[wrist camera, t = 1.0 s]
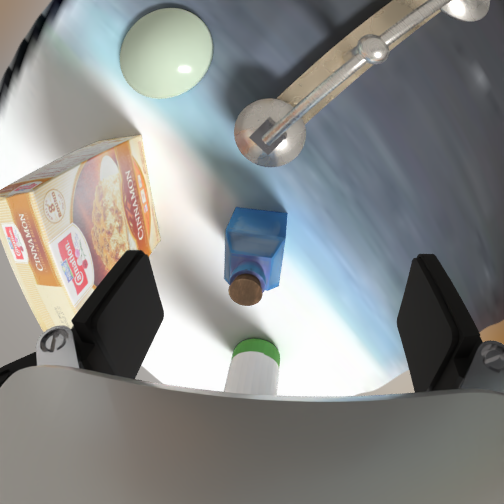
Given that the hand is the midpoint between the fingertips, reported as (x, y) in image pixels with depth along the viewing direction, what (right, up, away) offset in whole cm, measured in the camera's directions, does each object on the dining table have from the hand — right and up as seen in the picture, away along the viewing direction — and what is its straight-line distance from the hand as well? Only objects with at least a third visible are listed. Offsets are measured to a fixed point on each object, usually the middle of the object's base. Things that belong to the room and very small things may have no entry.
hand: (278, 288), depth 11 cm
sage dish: (-11, +23, +18) cm, 31 cm away
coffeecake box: (-17, +9, +28) cm, 34 cm away
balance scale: (+9, +21, +16) cm, 28 cm away
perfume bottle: (0, +4, +29) cm, 29 cm away
